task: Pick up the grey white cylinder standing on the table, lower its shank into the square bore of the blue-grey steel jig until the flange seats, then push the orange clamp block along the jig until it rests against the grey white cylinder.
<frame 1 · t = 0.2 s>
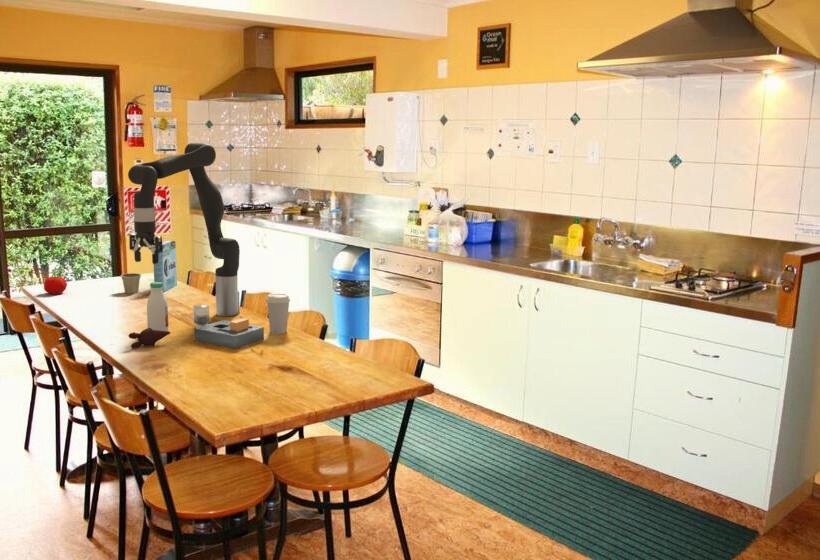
hand: (146, 262, 281), 29 cm above the table, tool pointing down, fingers open, 8 cm apart
grey white cylinder: (201, 333, 293), on the table
clamp block: (239, 324, 280), point 7 cm above the table, slide at 0.0 cm
milk bottle: (158, 333, 292), on the table
flower pot: (131, 292, 364), on the table
jig: (229, 340, 284), on the table
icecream: (150, 346, 274), on the table
coffee cup: (278, 332, 298), on the table
tomato: (56, 294, 357), on the table
gum box: (166, 288, 375), on the table
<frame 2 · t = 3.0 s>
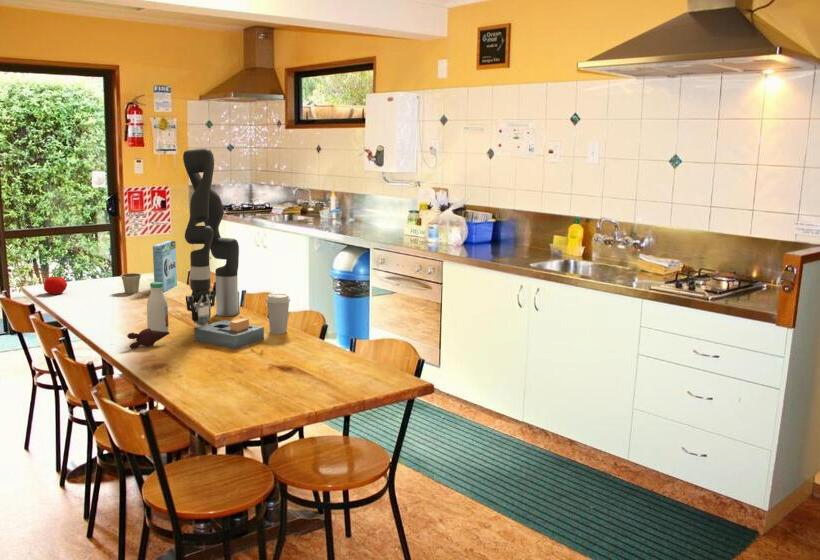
hand: (201, 319, 292), 6 cm above the table, tool pointing down, fingers closed on grey white cylinder, 6 cm apart
grey white cylinder: (201, 333, 293), on the table, touching gripper
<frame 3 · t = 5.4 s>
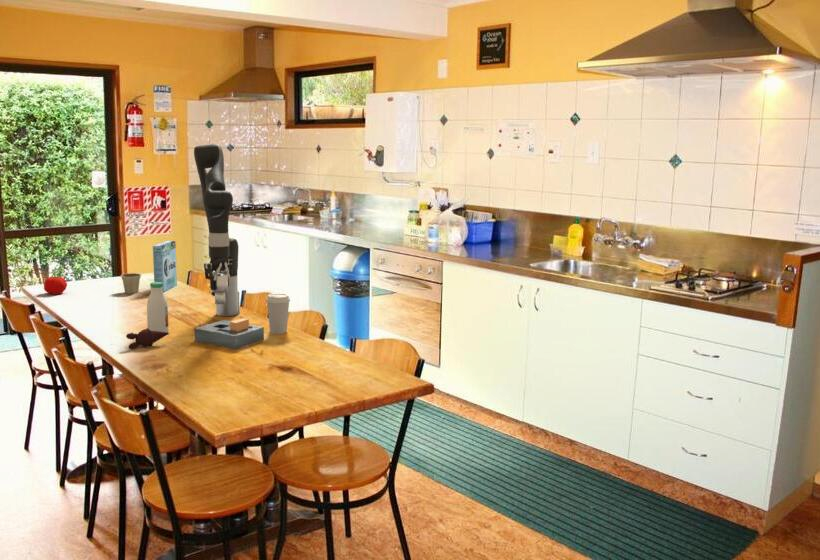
hand: (219, 288, 282), 20 cm above the table, tool pointing down, fingers closed on grey white cylinder, 6 cm apart
grey white cylinder: (220, 303, 283), point 14 cm above the table, touching gripper
when the fingers open (8 cm above the table, at t = 8.1 s): grey white cylinder drops 2 cm, resting on jig.
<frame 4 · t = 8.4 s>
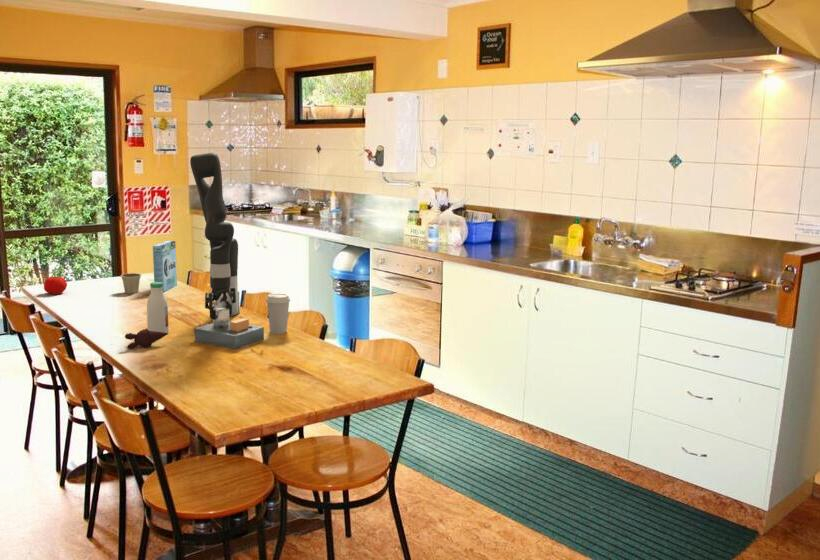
hand: (221, 317, 284), 9 cm above the table, tool pointing down, fingers open, 8 cm apart
grey white cylinder: (221, 337, 286), resting on jig
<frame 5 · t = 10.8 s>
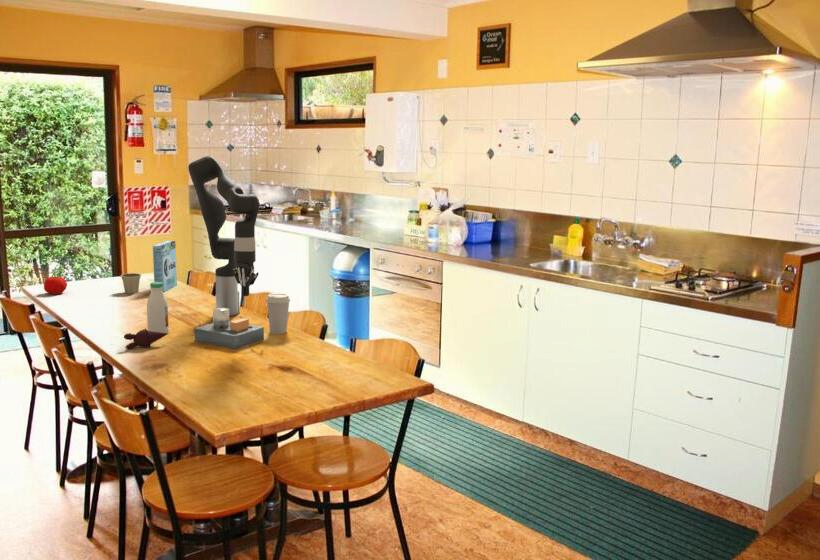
hand: (245, 295, 276), 18 cm above the table, tool pointing down, fingers closed
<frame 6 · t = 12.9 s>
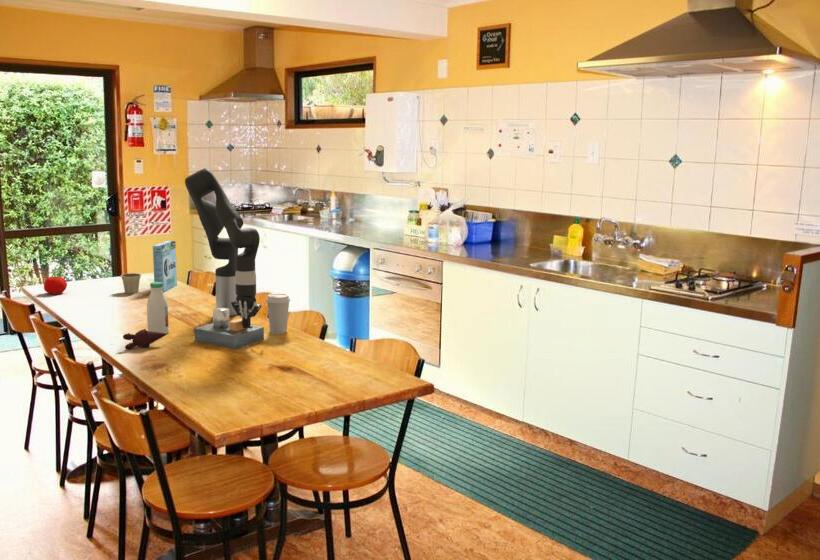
hand: (246, 327, 279), 6 cm above the table, tool pointing down, fingers closed
clamp block: (238, 324, 280), point 7 cm above the table, slide at 0.5 cm, touching gripper
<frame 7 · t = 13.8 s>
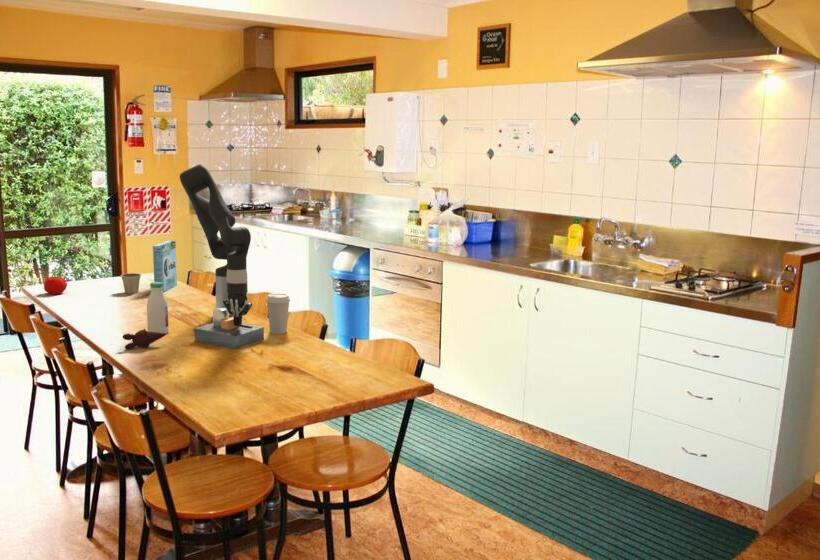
hand: (237, 325, 281), 6 cm above the table, tool pointing down, fingers closed
clamp block: (230, 323, 282), point 7 cm above the table, slide at 4.5 cm, touching gripper
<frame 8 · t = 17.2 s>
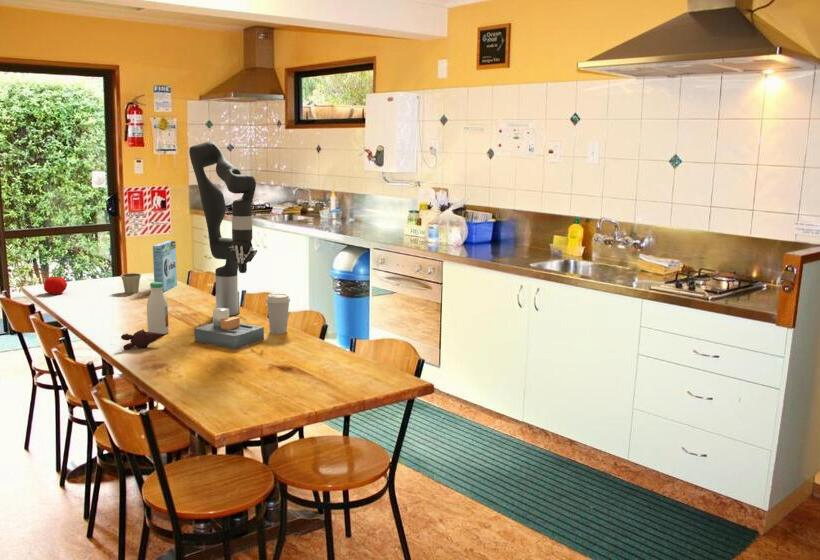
hand: (242, 272, 286), 25 cm above the table, tool pointing down, fingers closed
clamp block: (230, 323, 282), point 7 cm above the table, slide at 4.5 cm
at the end: grey white cylinder 0.1 cm from the target spot on the jig, point 0.5 cm above the jig's base; grey white cylinder tilted 0°; clamp block slide at 4.5 cm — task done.
